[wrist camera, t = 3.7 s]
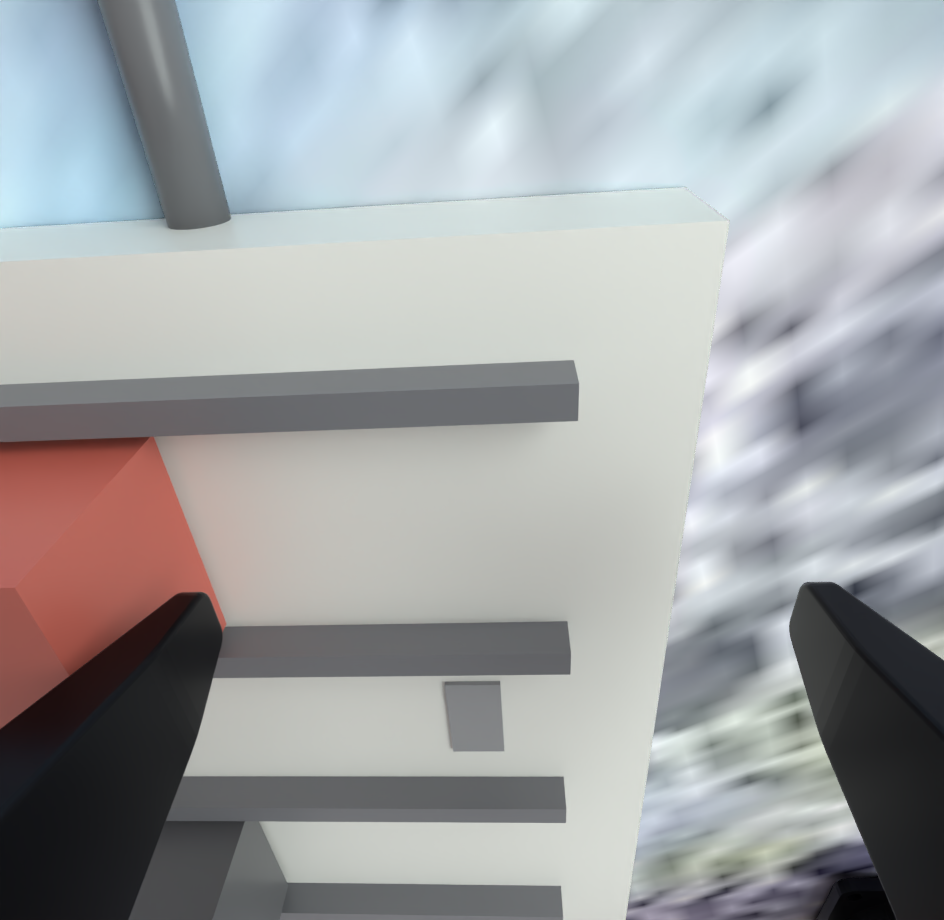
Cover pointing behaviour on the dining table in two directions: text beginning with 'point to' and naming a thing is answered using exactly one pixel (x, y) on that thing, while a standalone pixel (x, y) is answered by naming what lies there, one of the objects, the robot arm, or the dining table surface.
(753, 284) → the dining table surface
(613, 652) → the white flat slab
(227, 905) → the grey cube
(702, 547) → the dining table surface
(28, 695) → the red switch
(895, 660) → the robot arm
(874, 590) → the dining table surface
